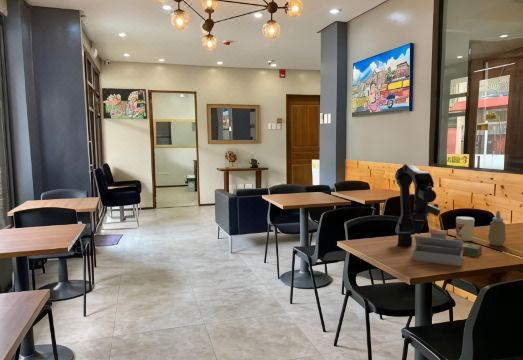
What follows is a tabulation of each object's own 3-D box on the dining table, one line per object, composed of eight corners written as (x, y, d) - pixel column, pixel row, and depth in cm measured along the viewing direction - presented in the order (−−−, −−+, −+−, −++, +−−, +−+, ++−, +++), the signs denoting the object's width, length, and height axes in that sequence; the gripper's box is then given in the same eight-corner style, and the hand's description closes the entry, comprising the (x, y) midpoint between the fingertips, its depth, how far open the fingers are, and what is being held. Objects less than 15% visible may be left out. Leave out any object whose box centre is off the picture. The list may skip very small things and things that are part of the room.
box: (413, 260, 179) (413, 250, 179) (416, 253, 190) (416, 244, 189) (461, 266, 170) (462, 256, 170) (462, 258, 181) (462, 249, 180)
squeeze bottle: (507, 247, 199) (509, 212, 197) (489, 246, 202) (491, 212, 200) (503, 243, 207) (505, 210, 205) (486, 242, 209) (487, 209, 207)
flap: (414, 236, 180) (415, 227, 181) (416, 244, 189) (417, 235, 191) (463, 241, 170) (463, 231, 172) (462, 249, 180) (462, 239, 182)
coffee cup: (452, 237, 221) (452, 216, 220) (468, 237, 221) (469, 216, 220) (459, 241, 212) (460, 219, 211) (477, 241, 212) (478, 219, 210)
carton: (446, 247, 200) (447, 239, 200) (481, 253, 190) (482, 245, 190) (442, 251, 194) (442, 243, 194) (477, 257, 184) (478, 248, 183)
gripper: (439, 203, 169) (437, 238, 170) (440, 197, 185) (439, 229, 187) (411, 201, 174) (410, 235, 175) (415, 195, 190) (414, 227, 192)
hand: (419, 231), depth 182 cm, fingers open, 9 cm apart
